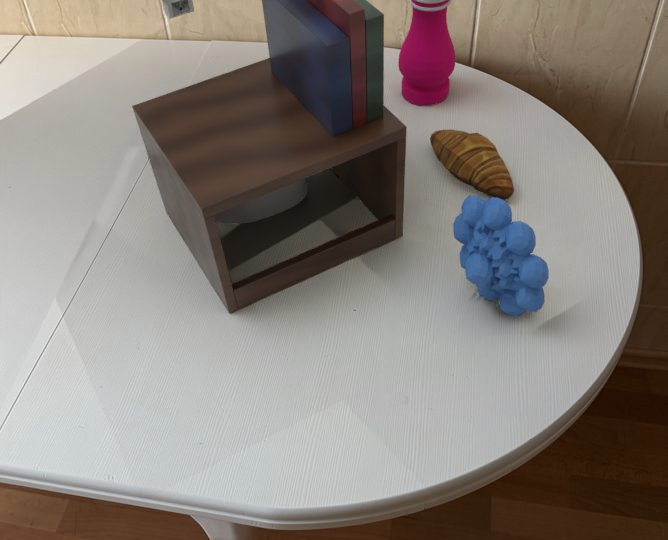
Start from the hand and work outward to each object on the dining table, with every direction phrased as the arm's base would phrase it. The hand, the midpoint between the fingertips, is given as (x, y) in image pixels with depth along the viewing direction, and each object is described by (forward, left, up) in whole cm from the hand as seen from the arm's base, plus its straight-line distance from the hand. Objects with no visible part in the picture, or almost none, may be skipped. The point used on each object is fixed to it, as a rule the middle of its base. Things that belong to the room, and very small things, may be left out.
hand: (179, 13), depth 78 cm
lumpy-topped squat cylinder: (+8, -11, -16) cm, 21 cm away
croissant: (+33, -6, -16) cm, 37 cm away
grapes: (+35, -26, -16) cm, 47 cm away
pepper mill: (+27, +10, -16) cm, 33 cm away
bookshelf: (+12, -16, -16) cm, 26 cm away
